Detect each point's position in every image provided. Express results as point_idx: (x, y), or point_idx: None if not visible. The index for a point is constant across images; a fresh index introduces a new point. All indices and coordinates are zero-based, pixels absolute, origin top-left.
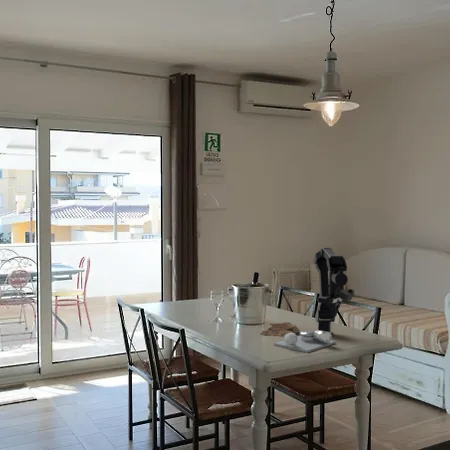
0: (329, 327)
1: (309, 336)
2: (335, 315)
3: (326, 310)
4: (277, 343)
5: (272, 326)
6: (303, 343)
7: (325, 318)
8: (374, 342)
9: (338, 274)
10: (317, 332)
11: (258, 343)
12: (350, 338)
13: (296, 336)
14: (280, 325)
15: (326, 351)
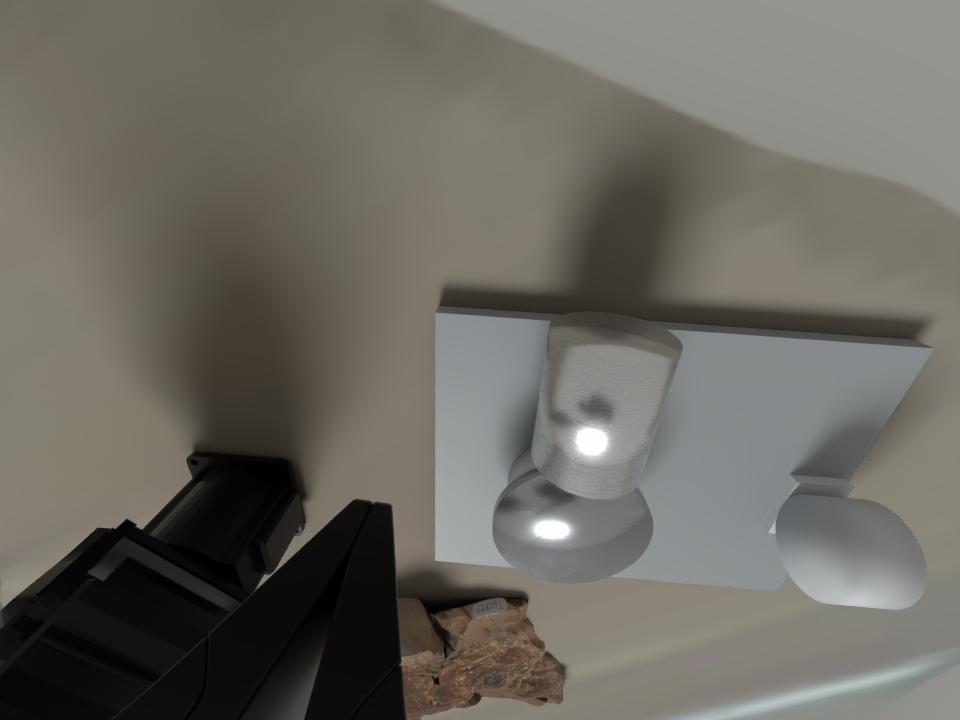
0: (205, 502)
1: (638, 488)
2: (379, 519)
3: (127, 703)
4: (779, 575)
5: (442, 709)
6: (685, 467)
7: (200, 598)
8: None
9: None
10: (641, 463)
11: (763, 637)
12: (178, 287)
13: (856, 538)
14: (413, 697)
15: (780, 230)
